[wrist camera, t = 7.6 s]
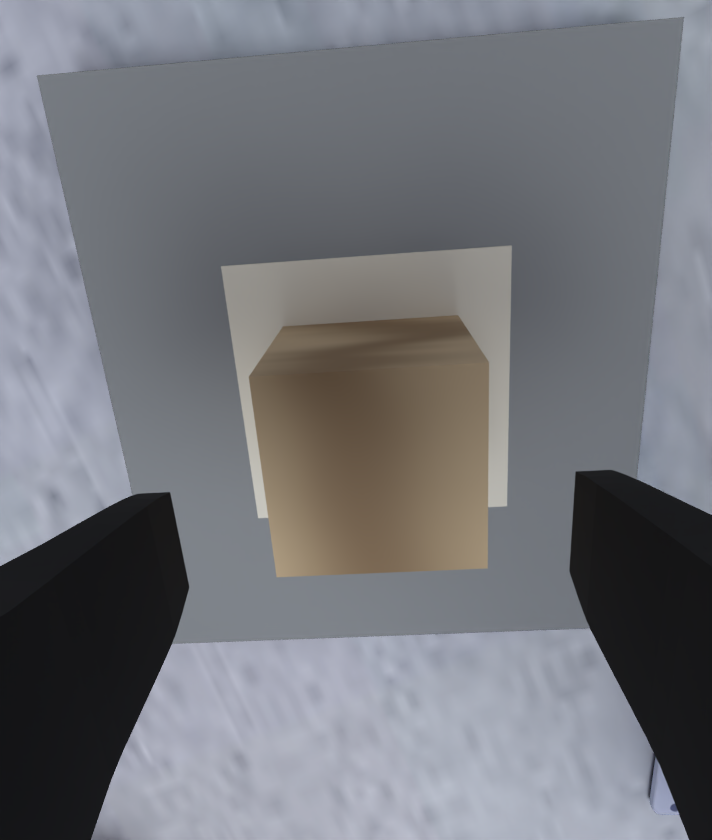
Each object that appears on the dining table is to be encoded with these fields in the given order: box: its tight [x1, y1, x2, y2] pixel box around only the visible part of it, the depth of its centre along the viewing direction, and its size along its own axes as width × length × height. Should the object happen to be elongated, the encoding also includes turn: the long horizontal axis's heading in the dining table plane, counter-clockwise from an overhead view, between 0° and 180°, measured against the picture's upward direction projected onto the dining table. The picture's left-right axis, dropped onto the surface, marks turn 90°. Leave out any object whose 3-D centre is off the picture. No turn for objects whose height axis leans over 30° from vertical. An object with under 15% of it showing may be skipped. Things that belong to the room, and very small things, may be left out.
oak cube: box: [249, 315, 489, 577], centre depth 16 cm, size 5×5×5 cm
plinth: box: [37, 17, 684, 644], centre depth 19 cm, size 16×18×3 cm
